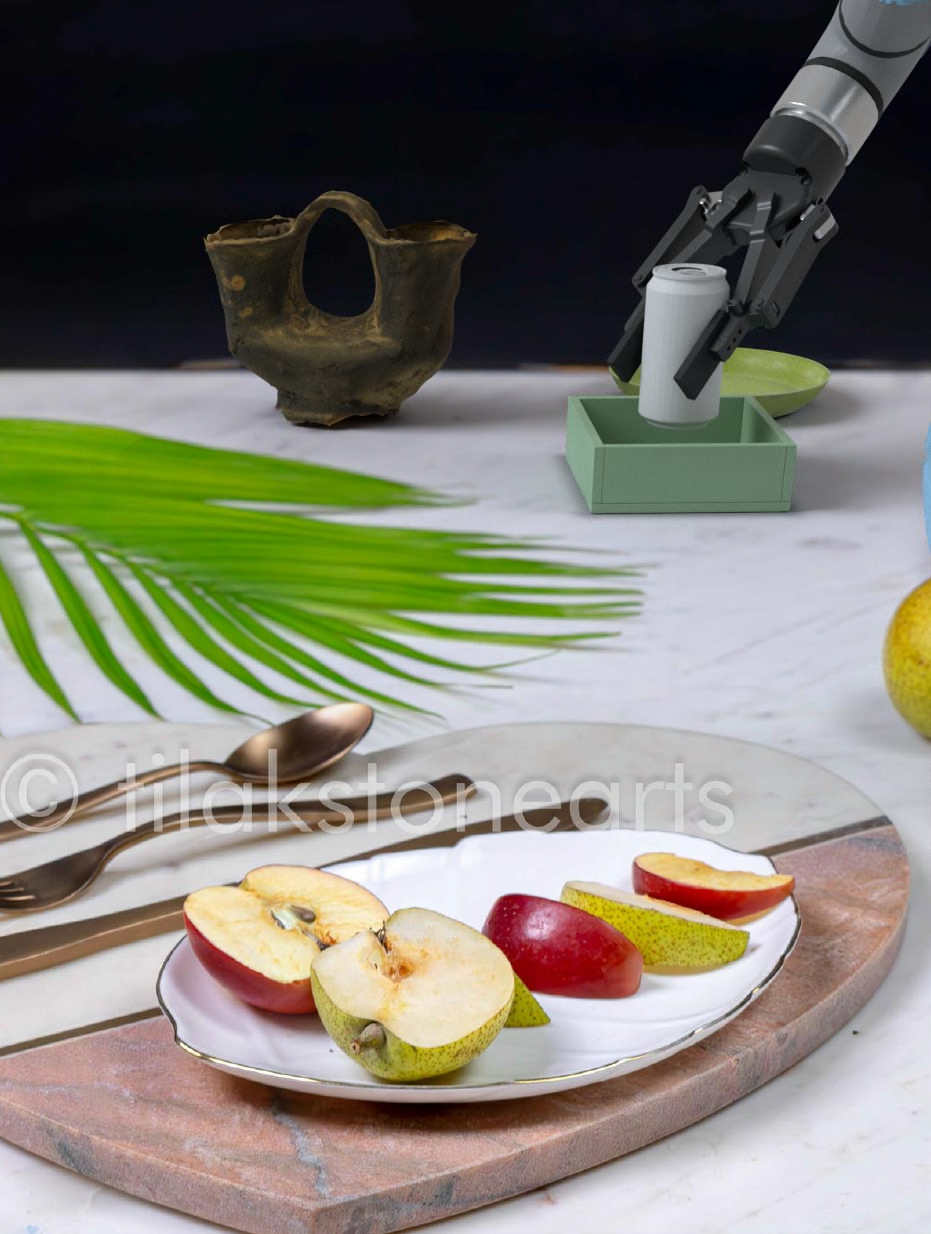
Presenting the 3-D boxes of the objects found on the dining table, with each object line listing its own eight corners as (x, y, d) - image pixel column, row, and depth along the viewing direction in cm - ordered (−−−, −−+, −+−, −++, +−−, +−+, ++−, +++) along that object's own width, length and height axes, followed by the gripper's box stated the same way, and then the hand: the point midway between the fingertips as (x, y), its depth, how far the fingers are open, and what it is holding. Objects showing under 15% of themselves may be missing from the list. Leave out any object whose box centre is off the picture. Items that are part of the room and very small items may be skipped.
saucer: (861, 396, 164) (865, 362, 163) (769, 443, 150) (773, 407, 148) (669, 366, 175) (672, 335, 174) (566, 408, 161) (568, 374, 159)
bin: (745, 455, 146) (751, 394, 144) (789, 511, 132) (797, 445, 130) (565, 457, 146) (568, 396, 144) (590, 513, 132) (594, 447, 130)
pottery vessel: (483, 409, 160) (489, 188, 151) (460, 440, 151) (466, 206, 142) (230, 394, 166) (222, 179, 157) (194, 422, 156) (182, 196, 147)
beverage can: (703, 409, 140) (715, 259, 135) (728, 430, 134) (743, 274, 129) (628, 413, 139) (637, 262, 134) (650, 433, 134) (662, 277, 128)
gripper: (926, 188, 131) (765, 434, 129) (732, 163, 144) (584, 385, 143) (893, 119, 125) (725, 375, 124) (695, 100, 139) (541, 330, 137)
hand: (650, 380), depth 133 cm, fingers closed on beverage can, 6 cm apart
